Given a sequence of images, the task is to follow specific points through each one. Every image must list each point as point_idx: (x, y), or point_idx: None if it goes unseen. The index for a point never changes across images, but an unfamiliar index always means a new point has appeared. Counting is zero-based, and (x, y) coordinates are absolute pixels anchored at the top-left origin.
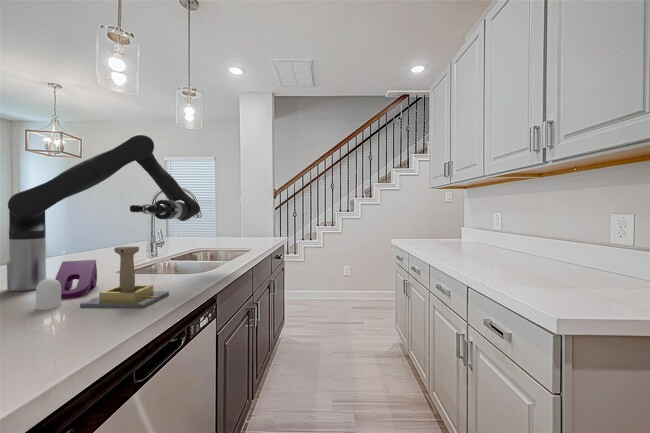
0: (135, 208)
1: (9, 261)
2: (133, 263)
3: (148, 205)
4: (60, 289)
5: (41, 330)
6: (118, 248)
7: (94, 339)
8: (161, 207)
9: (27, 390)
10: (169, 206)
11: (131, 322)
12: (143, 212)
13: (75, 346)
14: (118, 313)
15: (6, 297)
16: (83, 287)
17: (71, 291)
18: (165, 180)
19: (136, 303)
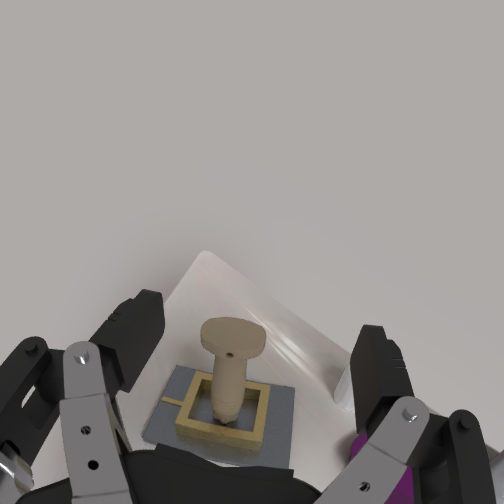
0: (363, 373)
1: None
2: (214, 365)
3: (328, 489)
4: (344, 382)
5: (272, 321)
6: (247, 320)
7: (201, 295)
8: (111, 314)
9: (207, 256)
10: (39, 339)
11: (178, 322)
12: (335, 478)
13: (210, 288)
14: (208, 355)
15: None
16: (356, 450)
17: (365, 437)
18: None
19: (190, 372)
